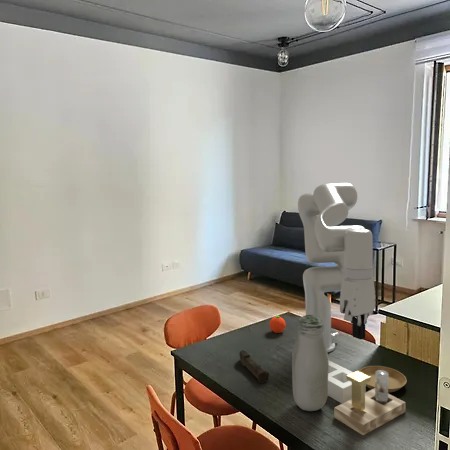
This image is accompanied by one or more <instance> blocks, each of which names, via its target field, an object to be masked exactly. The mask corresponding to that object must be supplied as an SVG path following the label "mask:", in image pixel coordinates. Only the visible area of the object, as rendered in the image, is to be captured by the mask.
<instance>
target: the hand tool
mask: <svg viewBox="0 0 450 450" xmlns="http://www.w3.org/2000/svg"><path fill="white" fill-rule="evenodd" d="M238 354H239V360H240V363H241V365H242V366H243V367H244V368H246V369H247V370H248V371H249V372H250V373H251V374H252V375H253V377H255V378H256V379H257V383H259V384H264V383H266V382H268V381H269V379H270V378H269V377H270V373H269V372H268V371H266V370H264V368H262V367H261V365H260V364H258V363H257V362H256V361H254V359H252V358H251V354H249V353H248V352H247V351H245V349H244V350H243V349H241V350H240V351H239V353H238Z"/></svg>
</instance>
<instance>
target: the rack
mask: <svg viewBox="0 0 450 450" xmlns="http://www.w3.org/2000/svg"><path fill="white" fill-rule="evenodd" d="M328 362H329V366H328V396H327V397H330V398H332V399H333V400H334V401H337V402H338V403H339V404H343V403H345V402H347V401H349V400H351V399H352V382H351V381H349V380H347V375H349V374H351V373H353V372H354V371H352V370H349V369H347V368H345V367H344V366H341V365H339V364H337V363H335V362H334V361H331V360H329V359H328ZM366 387H367V386H366V383H365V393H366V392H367V391H366V390H367V388H366Z"/></svg>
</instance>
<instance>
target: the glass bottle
mask: <svg viewBox="0 0 450 450" xmlns="http://www.w3.org/2000/svg"><path fill="white" fill-rule="evenodd" d="M296 328H297V332H296V335H295V341H294V343H293V344H294V345H293V348H292V353H291V378H292V380H291V381H292V395H293V400H294V402H295V404H296V405H297V406H298V407H299V408H300V409H301V410H303V411H305V412H306V411H307V412H316V411H318V410H320V409H322V408H323V407H324V406H325V405H326V402H327V399H328V397H329V396H328V366H329V362H328V360H329V355H328V352H327V350H326V346H325V342H324V336H323V330H324V326H323V323H322V320H321V319H320V318H319V317H318V316H316V315H306V314H305V315H303V316H301V317H300V318H298V321H297V325H296Z"/></svg>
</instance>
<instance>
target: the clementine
mask: <svg viewBox="0 0 450 450" xmlns="http://www.w3.org/2000/svg"><path fill="white" fill-rule="evenodd" d="M286 325H287V323H286V320H285V319H284V318H283V317H281V316H280V315H275V316H274V317H272V318H271V319H270V321H269V325H268V326H269V328H270V330H271V331H272V332H273V333H275V334H281V333H282V332H284V331H285V329H286V327H287V326H286Z"/></svg>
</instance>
